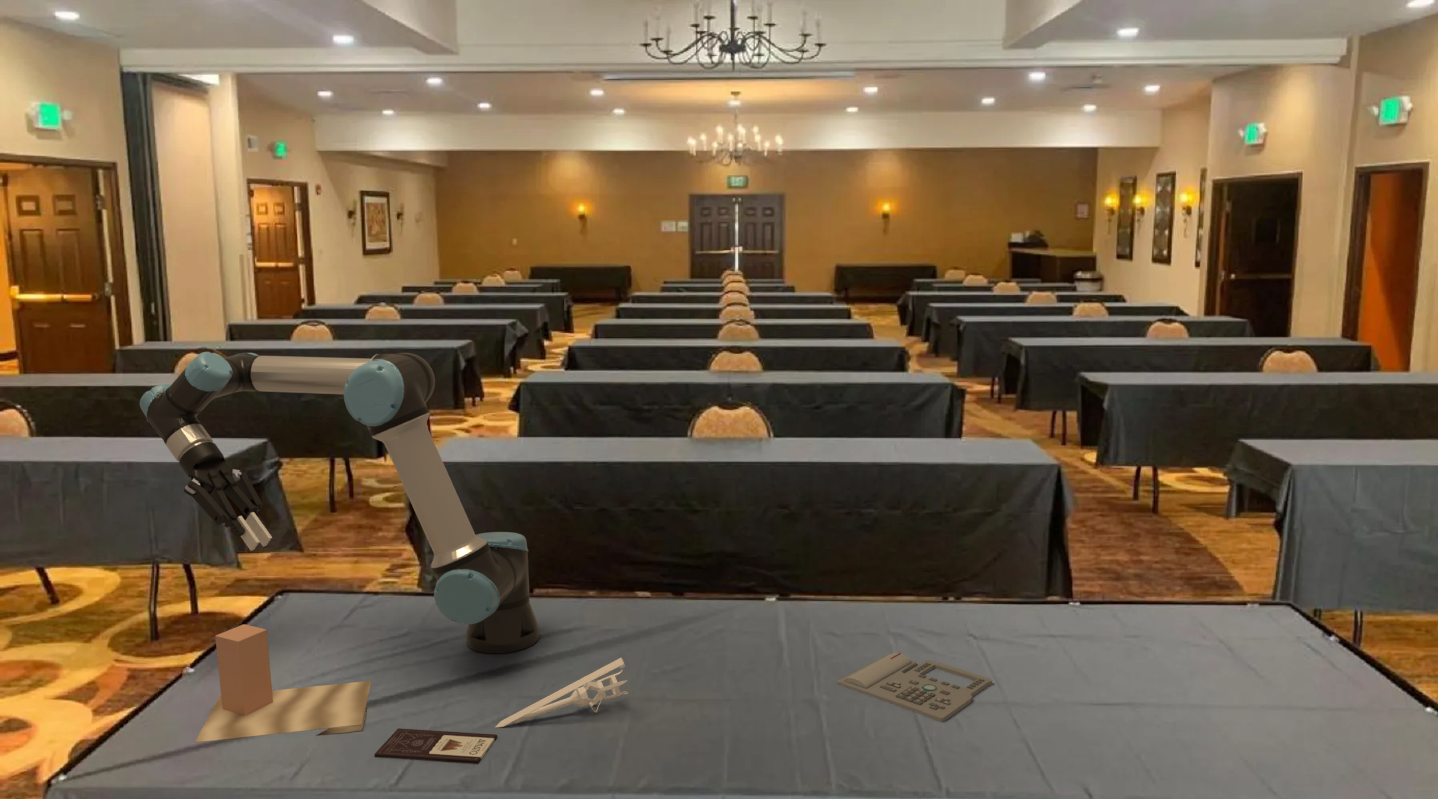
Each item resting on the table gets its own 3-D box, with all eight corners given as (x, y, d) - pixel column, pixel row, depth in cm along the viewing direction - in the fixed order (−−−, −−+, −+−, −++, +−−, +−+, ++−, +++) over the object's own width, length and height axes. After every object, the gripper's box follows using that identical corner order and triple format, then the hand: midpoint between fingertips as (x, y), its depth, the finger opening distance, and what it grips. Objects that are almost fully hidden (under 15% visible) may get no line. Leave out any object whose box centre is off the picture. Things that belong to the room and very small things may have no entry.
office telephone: (835, 674, 202) (894, 642, 216) (835, 687, 202) (894, 655, 217) (942, 711, 186) (998, 674, 201) (942, 725, 187) (998, 687, 201)
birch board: (372, 686, 203) (371, 680, 203) (362, 730, 186) (361, 724, 186) (220, 702, 198) (219, 695, 197) (195, 748, 180) (194, 742, 180)
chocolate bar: (398, 728, 186) (496, 734, 183) (398, 733, 186) (497, 739, 183) (374, 754, 177) (477, 761, 174) (374, 759, 177) (478, 766, 174)
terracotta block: (222, 709, 192) (215, 635, 190) (250, 695, 197) (243, 624, 195) (245, 715, 189) (238, 641, 187) (273, 702, 195) (266, 629, 192)
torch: (517, 763, 191) (642, 696, 194) (499, 742, 184) (628, 673, 188) (508, 734, 195) (630, 669, 198) (489, 713, 189) (616, 646, 192)
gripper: (221, 456, 219) (285, 544, 215) (153, 472, 206) (219, 566, 202) (237, 433, 216) (301, 522, 211) (168, 448, 203) (235, 543, 198)
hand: (261, 543), depth 207 cm, fingers open, 2 cm apart
